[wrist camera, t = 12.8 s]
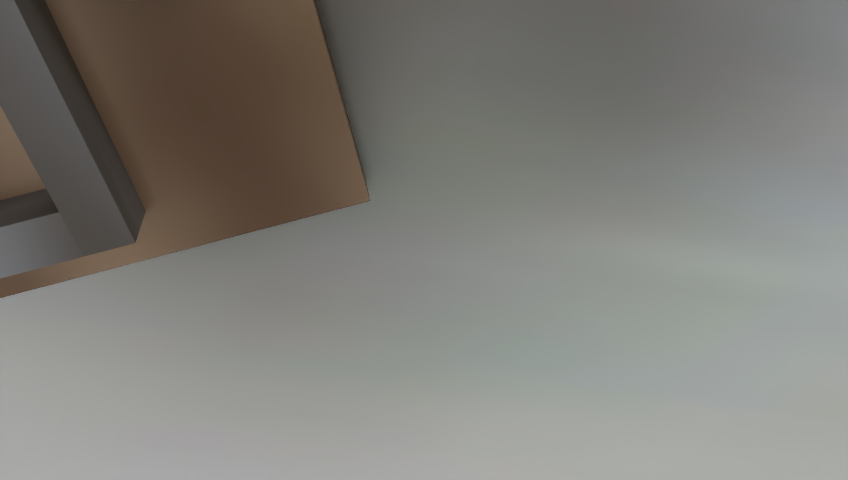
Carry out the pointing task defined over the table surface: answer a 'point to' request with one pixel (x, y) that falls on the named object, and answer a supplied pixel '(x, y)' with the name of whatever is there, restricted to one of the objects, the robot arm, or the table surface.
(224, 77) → the carrier board
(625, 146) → the table surface
